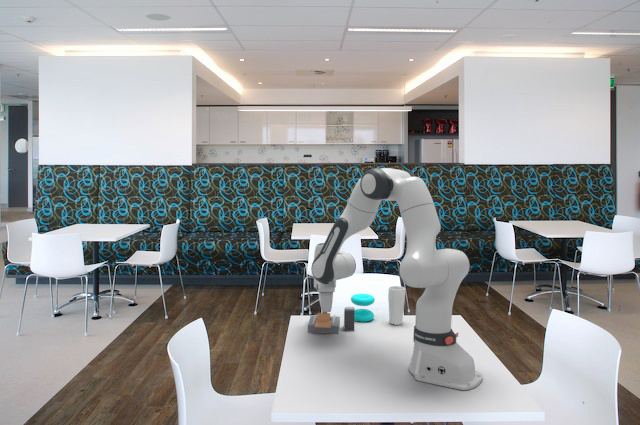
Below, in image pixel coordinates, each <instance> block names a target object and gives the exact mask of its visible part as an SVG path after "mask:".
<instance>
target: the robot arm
mask: <svg viewBox="0 0 640 425" xmlns="http://www.w3.org/2000/svg"><path fill="white" fill-rule="evenodd" d="M433 200H434V199H433V197H432V195H431V193H430V191H429V188H428V187H427V185H426V182H425V181H424V179H422V178H421V177H418V176H416V175H415V174H414V173H413V172H411V171H409V170H406V169H398V168H397V169H396V168H392V167H384V168H383V167H381V168H379V167H375V168H371V169H367V170H365V171H364V172H363V174H362V176H361V177H360V178H359V179H358V180H357V181H356V184H355V186H354V187H353V190H352V192H351V194H350V196H349V198H348V201H347V204H346V206H345V208H344V210H343V212H342V213H341V215H340V216H339V217H338V219H337V220H336V221H335V223H334V224H332V227H331V229H330V230H329V233H328V235H327V237H326V240H325V241H324V242H322V243H318V244H316V245H315V248H314V254H313V255H314V256H313V260H312V264H311V269H310V270H311V274H312V276H313V288H314V289H315V290H316V291H317V292H318V301H319V305H320V309H321V313H330V312H332V308H333V300H334V299H333V298H334V293H335V290H336V287H337V281H339V280H342V279H343V280H344V279H347V278H350V277H352V276H353V275H354V274H355V272H356V268H357V263H356V260H355V257H353V255H352V254H350V253H347V252H345V251H343V250H341V248H342V246H343V244H344V243H345V242H346V240H347V239H349V238H350V237H352V236H354V235H355V234H357V233H360V232H362V231H364V230H366V229H368V228H369V227H370V226H371V224H372V223H373V222H374V220H375V218H376V215H377V213H378V211H379V208H380V204H381V203H382V201H387V202H394V201H395V203H396V204H397V206H398V208H399V212H400V215H401V218H402V223H403V228H404V232H405V236H406V251H405V255H404V256H403V258H402V260H401V262H400V264H399V275H400V278H401V280H402V282H403V283H404V284H405V285H406V286H408V287H411V288H419V289H424V291H423V293H422V295H421V296H420V297H419V298H418V300H417V302H416V303H415V323H414V324H415V325H414V326H413V339H412V340H413V350H412V355H411V360H410V363H409V367H408V371H409V373H411V374H412V375H413V377H414V379H415V380H416V381H419V382H422V383H427V384H432V385H438V386H441V387H446V388H451V389H455V390H460V391H467V390H468V391H469V390H472V389H474V388H476V387H477V386H479V385H480V384H481V383H482V381H483V375H482V372H480V371H478V370H477V371H476V368H475V367H476V366H475V361H474V358H473V356H472V355H471V354H469V353H468V352H467V351H466V350H465V349H464V348H463V347H462V346H461V345H460V344H459V343H458V342H457V338H458V337H459V332H456V333H455V332H454V331H453V329H452V318H453V316H452V315H453V306H454V300H455V298H456V295H457V292H458V290H459V288H460V285H461V283H462V281H463V280H464V278H466V277H467V275H468V273H469V271H470V266H471V264H470V260H469V258H468V256H467V255H466V253H465V252H464V251H461V250H459V249H454V248H442V249H437V246H436V242H437V239H436V238H437V236H438V234H440V232H441V229H442V227H441V222H440V219H439V216H438V212H437V209H436V205H435V203H434V201H433Z"/></svg>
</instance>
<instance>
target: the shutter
mask: <svg viewBox="0 0 640 425" xmlns="http://www.w3.org/2000/svg"><path fill="white" fill-rule="evenodd" d="M330 316H331V313H330V312H327V313H322V312H317V320H316V322H315V327H325V328H331V324H332V321H330Z"/></svg>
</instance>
